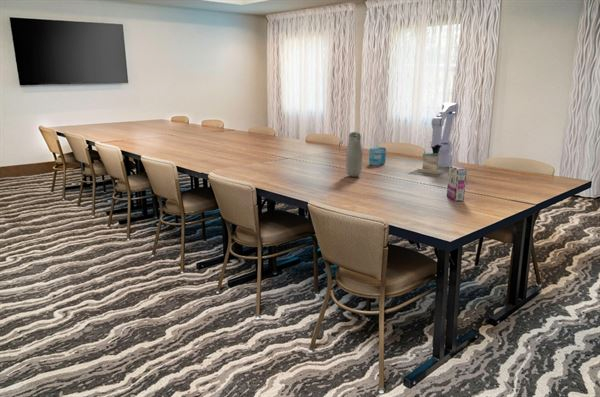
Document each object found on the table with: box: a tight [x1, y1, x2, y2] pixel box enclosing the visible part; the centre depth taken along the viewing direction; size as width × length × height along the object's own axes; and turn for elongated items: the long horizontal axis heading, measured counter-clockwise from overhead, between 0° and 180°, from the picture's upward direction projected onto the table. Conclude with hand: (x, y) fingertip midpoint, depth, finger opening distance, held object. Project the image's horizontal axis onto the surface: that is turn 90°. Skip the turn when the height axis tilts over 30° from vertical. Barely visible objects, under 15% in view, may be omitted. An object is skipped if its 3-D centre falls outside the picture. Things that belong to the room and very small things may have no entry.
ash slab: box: [421, 152, 439, 170], centre depth 301 cm, size 4×9×12 cm, turn 55°
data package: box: [368, 146, 387, 166], centre depth 330 cm, size 12×4×12 cm, turn 125°
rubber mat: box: [407, 168, 448, 178], centre depth 300 cm, size 21×20×2 cm
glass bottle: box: [345, 131, 364, 178], centre depth 289 cm, size 10×10×28 cm
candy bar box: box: [446, 165, 467, 202], centre depth 237 cm, size 11×5×16 cm, turn 5°
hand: (435, 156), depth 307 cm, fingers closed
